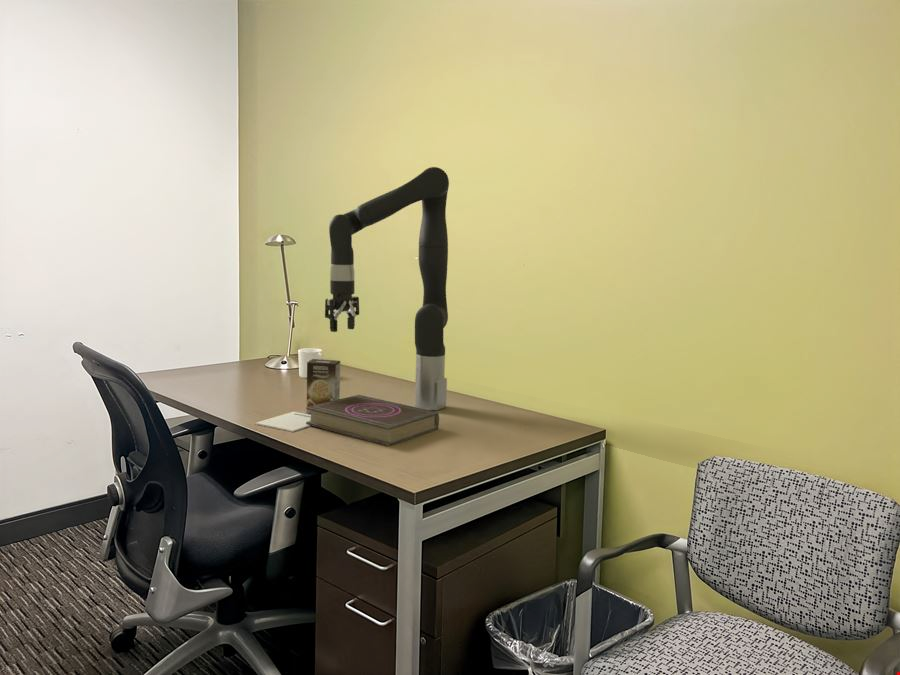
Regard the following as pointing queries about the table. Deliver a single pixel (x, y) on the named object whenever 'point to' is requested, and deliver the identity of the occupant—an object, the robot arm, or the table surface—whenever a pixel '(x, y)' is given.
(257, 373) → the table surface
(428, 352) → the robot arm
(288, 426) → the mat
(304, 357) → the mug
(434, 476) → the table surface
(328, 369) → the coffee box
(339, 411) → the book
